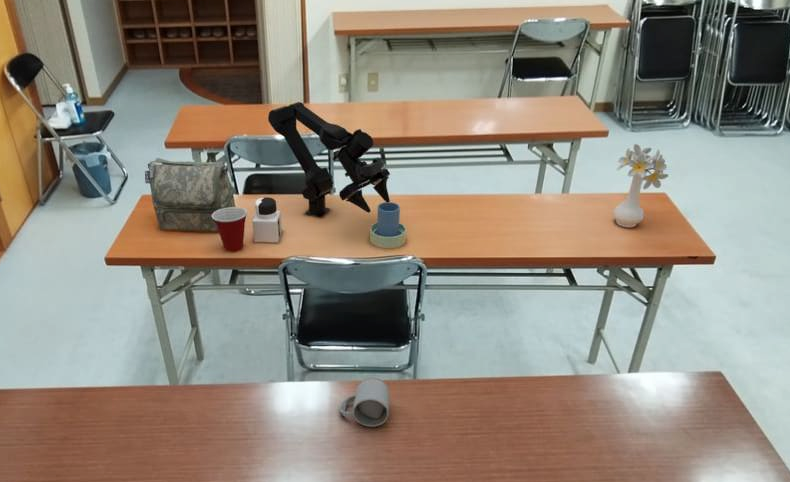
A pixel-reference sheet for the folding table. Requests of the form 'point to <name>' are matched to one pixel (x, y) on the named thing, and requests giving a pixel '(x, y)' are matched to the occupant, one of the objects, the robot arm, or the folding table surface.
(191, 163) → the lunch bag
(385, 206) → the tumbler
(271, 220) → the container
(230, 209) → the plastic cup
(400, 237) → the bowl
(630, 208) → the flower vase
